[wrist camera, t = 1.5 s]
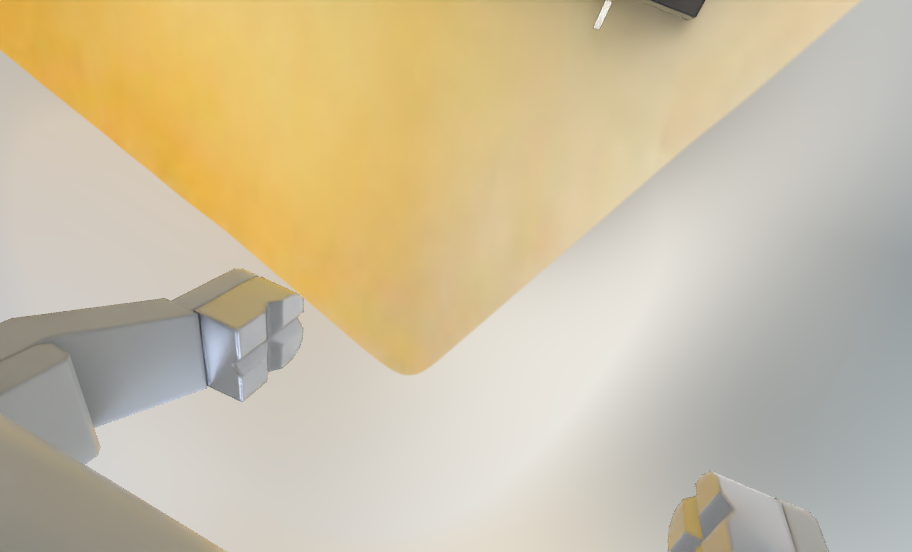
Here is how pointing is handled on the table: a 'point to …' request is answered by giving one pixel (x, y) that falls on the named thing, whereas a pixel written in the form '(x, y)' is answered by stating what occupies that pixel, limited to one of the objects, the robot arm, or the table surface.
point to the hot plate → (681, 3)
